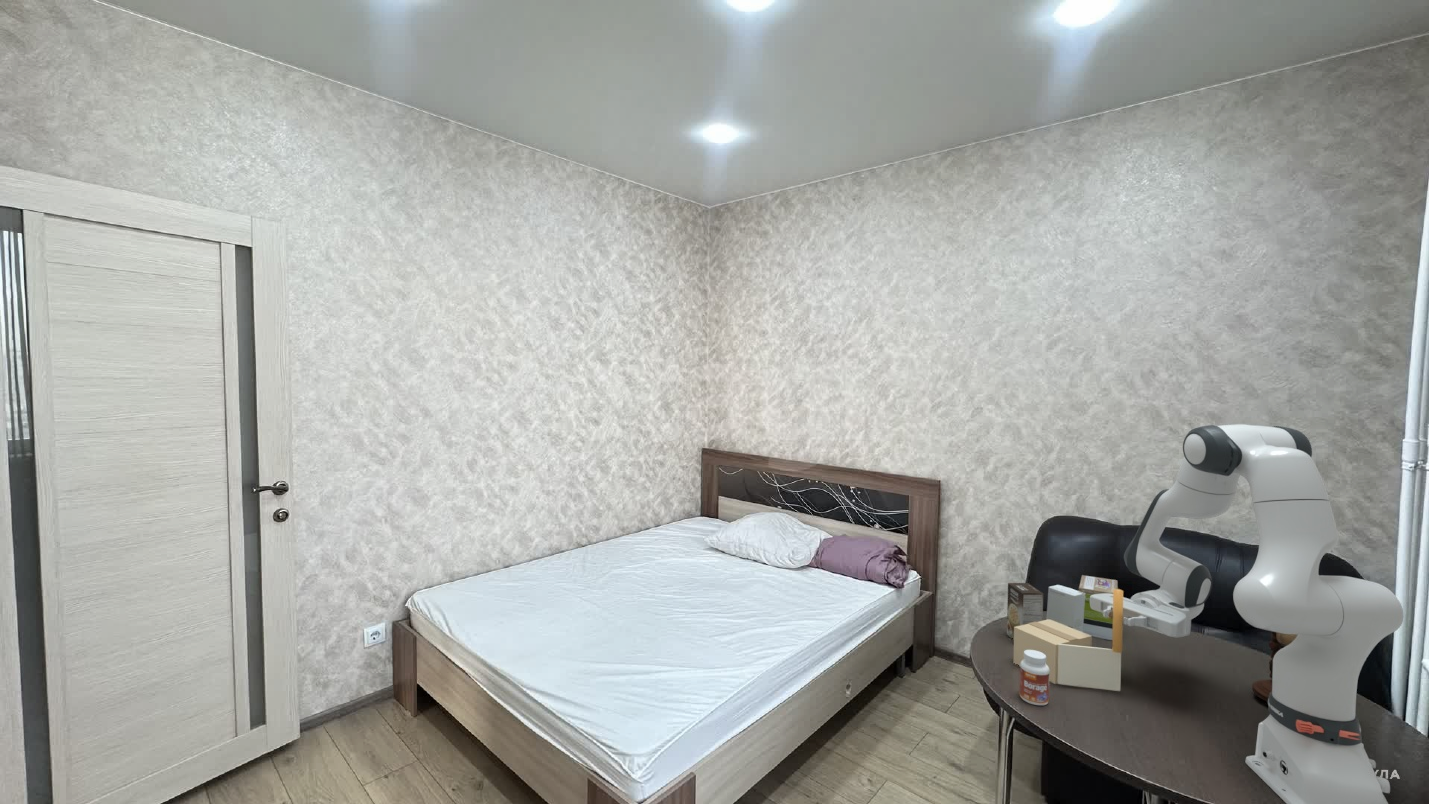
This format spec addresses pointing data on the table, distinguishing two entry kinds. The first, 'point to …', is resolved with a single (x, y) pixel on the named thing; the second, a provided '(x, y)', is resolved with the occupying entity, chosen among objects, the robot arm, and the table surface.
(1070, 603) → the skincare box
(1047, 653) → the carton
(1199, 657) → the table surface
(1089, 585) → the tea box
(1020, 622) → the coffee box
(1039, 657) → the pill bottle
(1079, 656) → the cleaver with orange handle
